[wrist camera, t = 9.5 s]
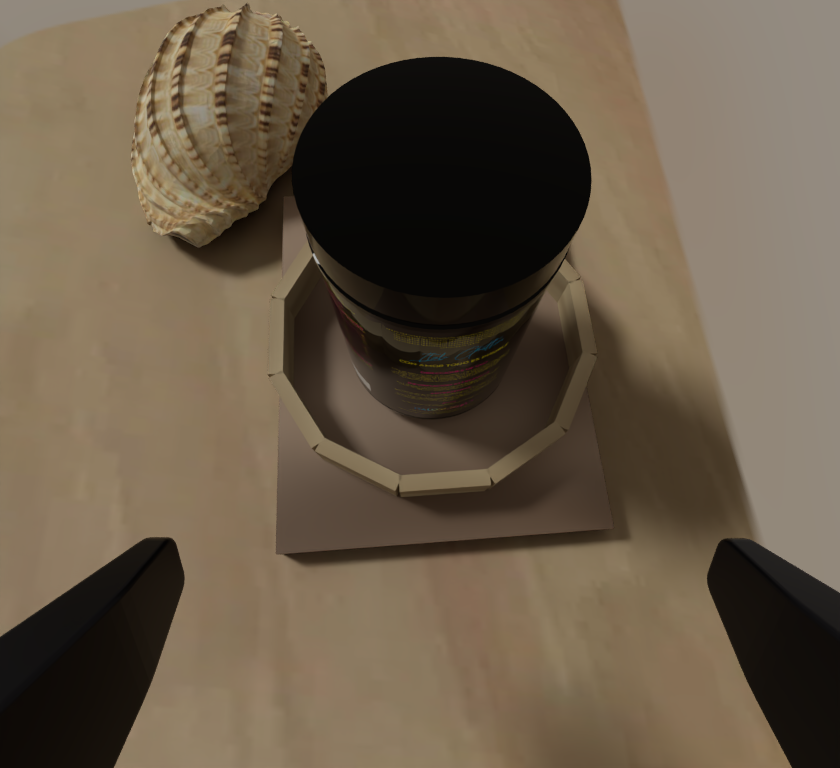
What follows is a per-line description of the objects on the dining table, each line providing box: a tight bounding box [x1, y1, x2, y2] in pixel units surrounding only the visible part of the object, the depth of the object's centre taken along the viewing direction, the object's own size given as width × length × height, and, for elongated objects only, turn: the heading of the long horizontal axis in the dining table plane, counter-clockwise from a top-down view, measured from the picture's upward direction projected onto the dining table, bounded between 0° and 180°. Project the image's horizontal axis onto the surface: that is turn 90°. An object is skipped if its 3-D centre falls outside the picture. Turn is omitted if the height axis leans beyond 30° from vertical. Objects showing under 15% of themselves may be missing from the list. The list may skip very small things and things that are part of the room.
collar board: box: [268, 196, 614, 554], centre depth 18 cm, size 14×11×2 cm
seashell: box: [131, 3, 328, 248], centre depth 20 cm, size 8×6×10 cm
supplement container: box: [292, 57, 591, 420], centre depth 14 cm, size 6×6×9 cm
